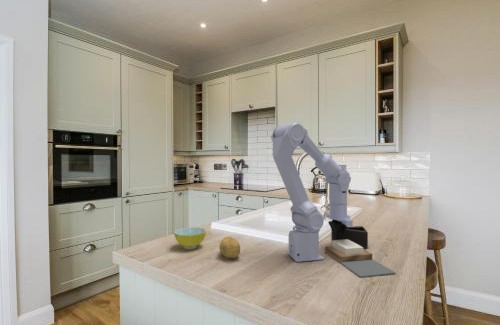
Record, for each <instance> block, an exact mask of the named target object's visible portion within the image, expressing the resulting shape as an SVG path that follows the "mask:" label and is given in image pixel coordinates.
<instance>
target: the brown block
mask: <svg viewBox="0 0 500 325" xmlns="http://www.w3.org/2000/svg"><path fill="white" fill-rule="evenodd" d="M324 253H325V254H327V255H328V256H330V257H331V258H332V259H333V260H335V261H337V263H339V264H341V262H351V261H362V260H373V253H371V252H369V251H368V250H367V249H363V254H355V255H345V254H343V253H342V252H340V251H339V250H337V249H336V248H334V247H333V246H332V245H330V246H329V245H328V246H324Z"/></svg>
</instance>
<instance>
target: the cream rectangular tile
mask: <svg viewBox="0 0 500 325" xmlns="http://www.w3.org/2000/svg"><path fill="white" fill-rule="evenodd" d="M331 246H333V247H334V248H336V249H337V250H339V251H340V252H342V253H343V254H345V255H355V254H363V247H362V246H360V245H358V244H356V243H354V242H352V241H350V240H348V239H344V240H332V243H331Z"/></svg>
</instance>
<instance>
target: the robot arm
mask: <svg viewBox="0 0 500 325" xmlns="http://www.w3.org/2000/svg"><path fill="white" fill-rule="evenodd" d="M270 139H271V142H272V157H273V161H274V164H275V165H276V167H277V168H276V169H277V170H278V172H279V175H280V177H281V179H282V182H283V184H284V186H285V189H286V191H287V192H286V193H287V194H288V196H289V199H290V201H291V203H292V206H291V207H290V209H289V210H290V212H291V221H292V222H293V224H294V225H295V226H294V228H295V229H294V230H290V231H289V232H288V252H287V254H288V255H289V257H291V258H292V259H293V261H295V262H297V263H300V262H308V261H309V262H310V261H312V262H313V261H323V260H324V259H325V258H324V256H322V255H321V254H319V253H320V252H319V251H320V250H319V249H320V247H319V243H320V242H319V235H320V234H319V232H321V229H322V228H323V226H324V222H325V221H324V220H325V219H324V215H323V214H322V213H321V212H320V211H319V210H318V208H317V206H316V205H315V204H314V203H313V202H312V201H311V200H310V198H309V196H308V194H307V191H306V188H305V186H304V183H303V181H302V178H301V176H300V173H299V171H298V168H297V167H296V164H295V162H294V159H293V153H294V152H295V150H296V149H297V148H298V147H300V148H301V149H302V150H303V151H304V152H305V153H306V154H307V155H308V156H310V157H311V158H312V159H313V160H314V161H315V163H314V164H315V168H317V169H318V171H320V172H321V174H323V175H324V177H325V180H326V183H327V184H329V211H326V212H325V218H328V219H331V220H329V221H328V222H327V223H328V225H329V227H330V230H331V229H332V232H333V236H334V240H343V237H344V233H345V231H346V229H347V227H354V226H353V224H354V223H353V222H354V221H353V219H351V216H350V215H348V190H349V184H350V183H351V179H352V177H351V176H350V173H349V172H348V171H347V170H346V169H344V168H343V169H342V168H341V165H340V164H338V163H337V162H336V161H335V160H334V158H333V156H332V155H331V154H328V153H323V152H322V150H321V149H320V147H318V145H316V143H315V142H314V141H313V140H312V138H311V137H310V135H309V133H308V129H306V128H304V125H302V124H301V123H300V122H297V121H294V122H291V123H288V124H282V125H277V126H276V127H275V128H274V129H273V130H272V133H271V135H270Z"/></svg>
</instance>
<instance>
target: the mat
mask: <svg viewBox="0 0 500 325" xmlns="http://www.w3.org/2000/svg"><path fill="white" fill-rule="evenodd" d="M340 265H342V267H344V268H346V269H347V270H349V271H350V272H351V273H353V274H354V275H355V276H357V277H359V278H360V279H361V278H370V277H371V278H372V277H380V276H381V277H382V276H389V275H396V274H397V273H396V271H394V270H392V269H391V268H389V267H387V266H385V265H383V264H381V263H380V262H378V261H376V260H375V259H372V260H362V261H351V262H341V263H340Z"/></svg>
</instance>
